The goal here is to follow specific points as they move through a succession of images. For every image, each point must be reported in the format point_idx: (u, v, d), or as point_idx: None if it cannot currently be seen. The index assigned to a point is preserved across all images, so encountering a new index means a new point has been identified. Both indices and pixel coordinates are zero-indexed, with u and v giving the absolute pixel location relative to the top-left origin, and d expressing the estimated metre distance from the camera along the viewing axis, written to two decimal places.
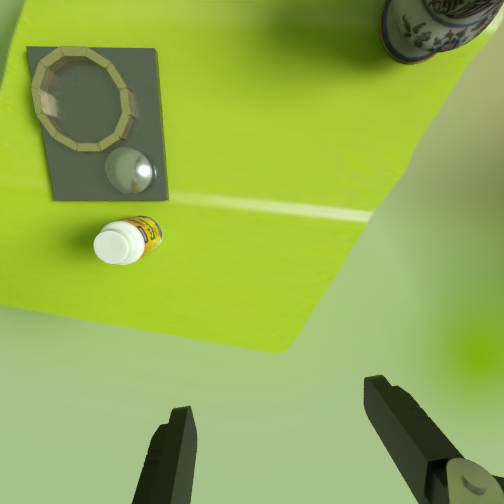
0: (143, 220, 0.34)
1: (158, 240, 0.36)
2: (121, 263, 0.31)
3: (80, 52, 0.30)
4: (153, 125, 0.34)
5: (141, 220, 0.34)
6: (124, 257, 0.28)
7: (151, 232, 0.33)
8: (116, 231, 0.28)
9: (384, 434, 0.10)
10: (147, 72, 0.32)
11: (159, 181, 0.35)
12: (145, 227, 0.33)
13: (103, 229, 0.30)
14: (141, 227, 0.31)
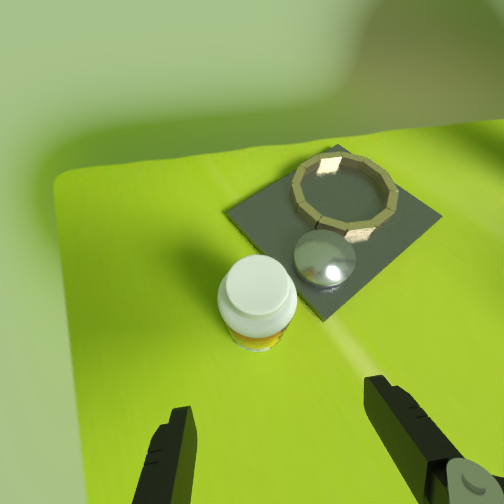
0: None
1: (270, 346, 0.21)
2: (227, 315, 0.16)
3: (378, 170, 0.30)
4: (385, 253, 0.26)
5: None
6: (256, 312, 0.14)
7: None
8: (287, 276, 0.15)
9: (384, 434, 0.10)
10: (419, 221, 0.28)
11: (338, 295, 0.24)
12: None
13: None
14: None
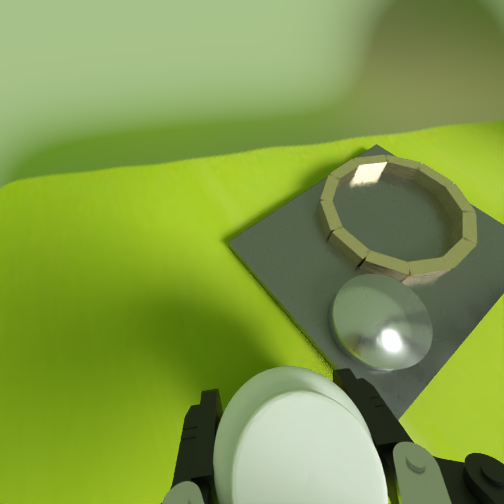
0: None
1: None
2: None
3: (442, 180, 0.22)
4: (467, 308, 0.17)
5: None
6: None
7: None
8: (373, 450, 0.07)
9: None
10: None
11: (406, 383, 0.15)
12: None
13: (301, 375, 0.09)
14: None
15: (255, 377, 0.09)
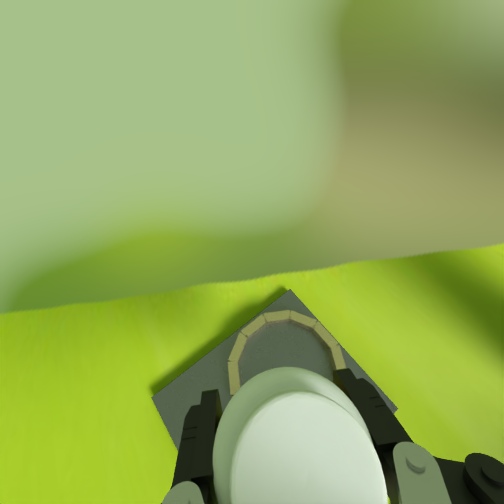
0: None
1: None
2: None
3: (329, 341, 0.27)
4: None
5: None
6: None
7: None
8: (373, 451, 0.07)
9: None
10: None
11: None
12: None
13: (300, 375, 0.09)
14: None
15: (254, 378, 0.09)
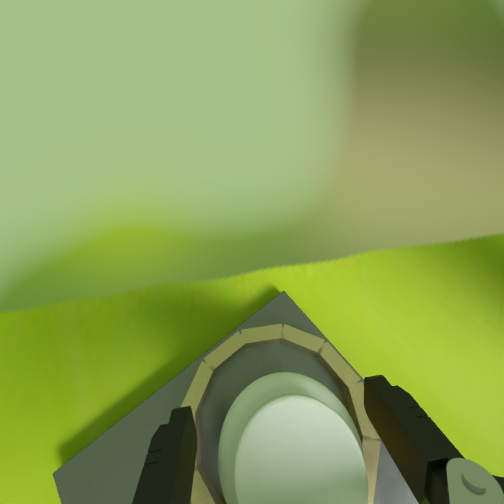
0: None
1: None
2: None
3: (345, 375, 0.16)
4: None
5: None
6: None
7: None
8: (358, 446, 0.08)
9: (384, 434, 0.10)
10: None
11: None
12: None
13: (296, 380, 0.10)
14: None
15: (255, 382, 0.10)
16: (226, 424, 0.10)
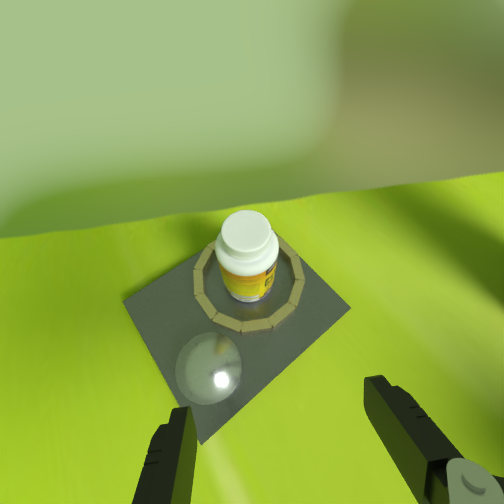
0: None
1: (259, 294, 0.25)
2: (222, 258, 0.20)
3: (289, 252, 0.28)
4: (281, 356, 0.24)
5: None
6: (245, 249, 0.18)
7: (272, 275, 0.23)
8: None
9: (384, 434, 0.10)
10: (325, 314, 0.26)
11: (221, 412, 0.22)
12: None
13: None
14: None
15: None
16: None
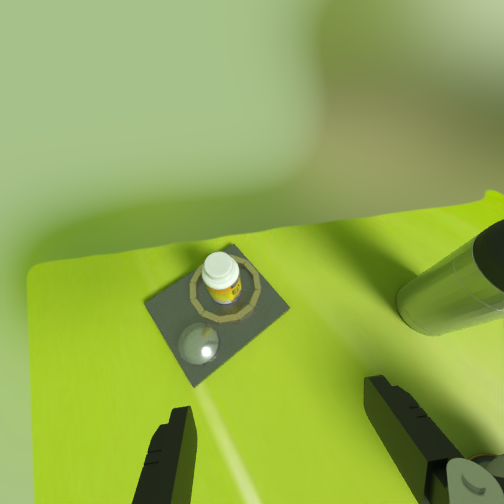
0: None
1: (230, 299, 0.40)
2: (205, 279, 0.35)
3: (252, 271, 0.43)
4: (243, 337, 0.39)
5: None
6: (216, 275, 0.33)
7: (237, 288, 0.38)
8: (232, 261, 0.35)
9: (384, 434, 0.10)
10: (273, 312, 0.41)
11: (205, 370, 0.37)
12: (239, 281, 0.38)
13: None
14: (239, 278, 0.37)
15: None
16: None
